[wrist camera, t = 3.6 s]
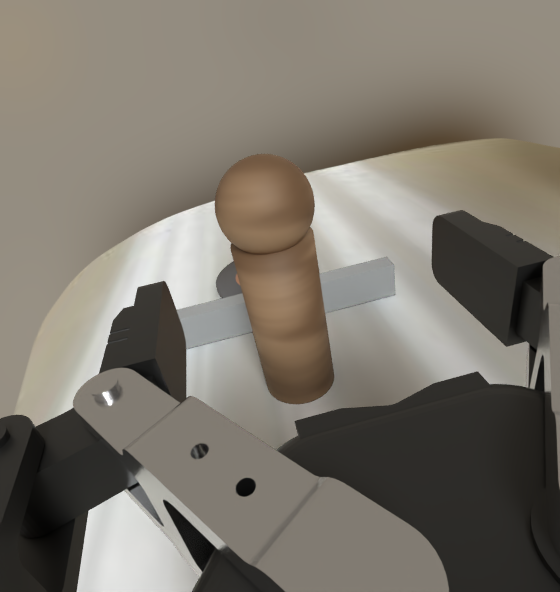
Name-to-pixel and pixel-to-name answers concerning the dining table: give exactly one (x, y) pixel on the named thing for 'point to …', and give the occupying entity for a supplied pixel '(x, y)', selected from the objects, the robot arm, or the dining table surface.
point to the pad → (228, 282)
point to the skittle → (278, 272)
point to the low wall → (335, 290)
